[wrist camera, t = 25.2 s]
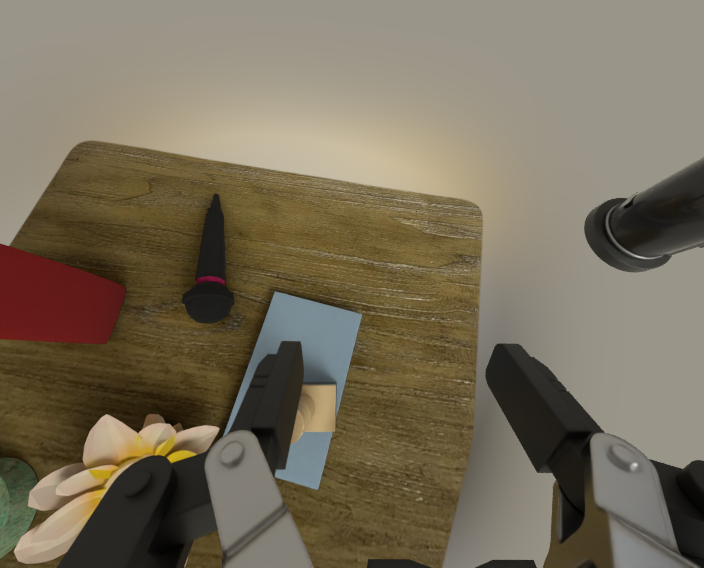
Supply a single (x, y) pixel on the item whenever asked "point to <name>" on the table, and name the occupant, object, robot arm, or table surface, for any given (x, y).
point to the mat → (306, 368)
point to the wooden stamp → (316, 409)
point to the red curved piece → (54, 300)
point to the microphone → (210, 273)
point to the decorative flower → (100, 478)
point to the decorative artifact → (14, 501)
